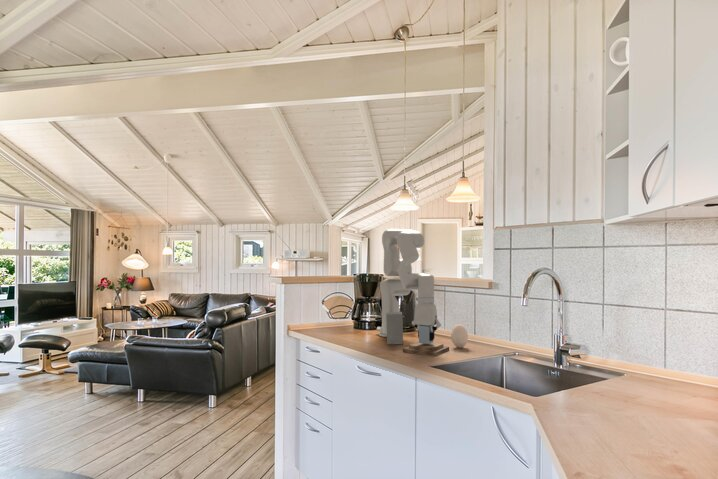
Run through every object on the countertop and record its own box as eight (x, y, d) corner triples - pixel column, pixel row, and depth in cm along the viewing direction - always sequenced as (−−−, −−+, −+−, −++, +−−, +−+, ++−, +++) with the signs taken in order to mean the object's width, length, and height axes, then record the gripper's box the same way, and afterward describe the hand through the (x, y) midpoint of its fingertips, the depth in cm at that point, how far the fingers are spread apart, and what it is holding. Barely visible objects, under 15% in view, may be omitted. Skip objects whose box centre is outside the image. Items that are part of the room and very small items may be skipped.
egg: (449, 348, 212) (449, 324, 212) (453, 345, 219) (453, 322, 219) (465, 350, 208) (465, 325, 209) (469, 347, 215) (469, 323, 216)
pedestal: (402, 351, 204) (402, 345, 204) (418, 346, 217) (418, 340, 217) (434, 356, 195) (434, 349, 195) (449, 350, 208) (449, 343, 208)
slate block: (418, 342, 206) (418, 325, 206) (423, 341, 210) (423, 324, 210) (428, 344, 203) (428, 326, 203) (433, 342, 207) (433, 325, 207)
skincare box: (403, 342, 227) (403, 311, 227) (403, 345, 220) (403, 313, 220) (386, 342, 228) (386, 311, 228) (386, 344, 221) (386, 312, 221)
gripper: (406, 300, 209) (406, 339, 208) (439, 302, 199) (439, 343, 198) (413, 299, 215) (413, 336, 214) (446, 301, 205) (446, 340, 205)
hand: (426, 339), depth 206 cm, fingers closed on slate block, 5 cm apart
